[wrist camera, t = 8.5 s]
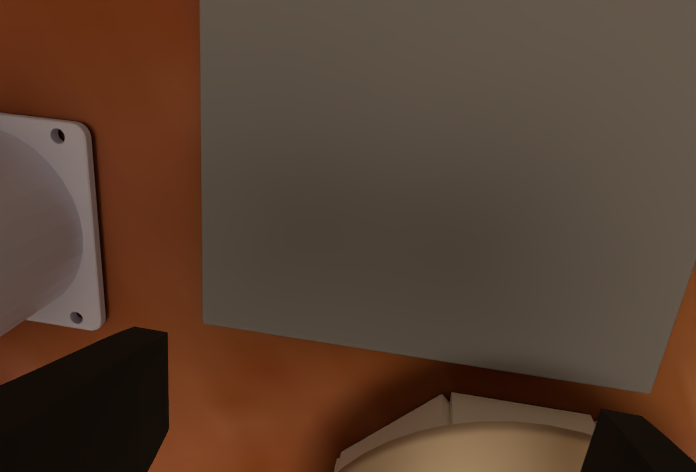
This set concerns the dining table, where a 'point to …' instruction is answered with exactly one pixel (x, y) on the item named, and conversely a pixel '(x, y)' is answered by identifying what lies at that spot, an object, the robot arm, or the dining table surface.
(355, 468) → the lid
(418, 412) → the bowl
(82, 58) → the dining table surface
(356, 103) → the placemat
